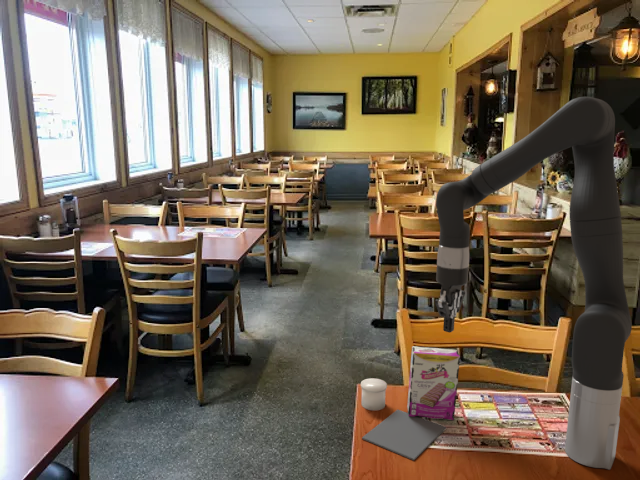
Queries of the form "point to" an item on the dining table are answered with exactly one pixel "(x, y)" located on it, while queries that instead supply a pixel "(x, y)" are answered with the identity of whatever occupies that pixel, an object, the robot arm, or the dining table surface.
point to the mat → (404, 434)
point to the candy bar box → (433, 383)
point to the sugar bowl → (373, 394)
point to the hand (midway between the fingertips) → (448, 331)
